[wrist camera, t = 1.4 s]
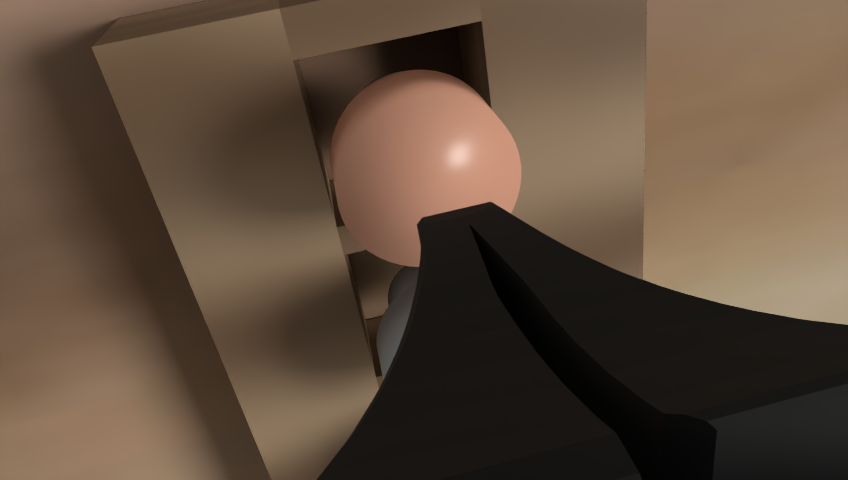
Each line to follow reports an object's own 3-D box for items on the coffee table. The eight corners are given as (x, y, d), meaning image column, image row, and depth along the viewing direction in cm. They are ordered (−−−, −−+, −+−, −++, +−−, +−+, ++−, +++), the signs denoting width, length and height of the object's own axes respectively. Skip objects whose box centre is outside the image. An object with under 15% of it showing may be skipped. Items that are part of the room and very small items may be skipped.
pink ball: (484, 176, 19) (528, 243, 16) (344, 208, 18) (358, 284, 15) (467, 32, 17) (512, 75, 13) (308, 65, 16) (315, 118, 13)
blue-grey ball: (503, 329, 22) (543, 413, 18) (381, 359, 21) (400, 450, 18) (490, 222, 20) (532, 295, 16) (355, 254, 19) (370, 335, 16)
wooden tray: (606, 396, 28) (640, 451, 25) (295, 477, 27) (297, 543, 24) (596, -78, 18) (647, -67, 16) (118, 18, 17) (91, 46, 15)
